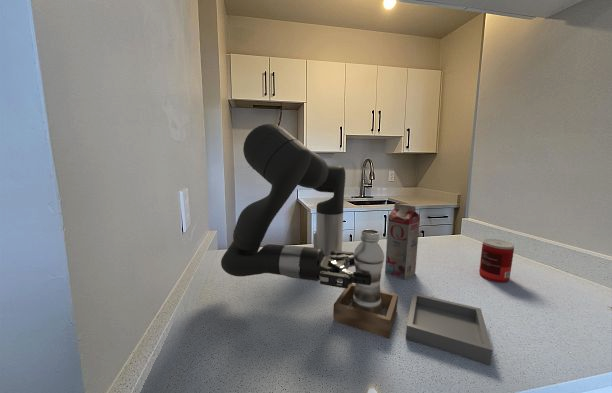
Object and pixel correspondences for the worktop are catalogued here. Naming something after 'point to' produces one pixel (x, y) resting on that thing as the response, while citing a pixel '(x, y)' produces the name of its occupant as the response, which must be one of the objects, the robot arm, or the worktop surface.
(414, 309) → the tray
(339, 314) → the open wooden box
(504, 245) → the canned food
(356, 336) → the worktop surface
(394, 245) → the juice carton
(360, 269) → the plastic bottle
